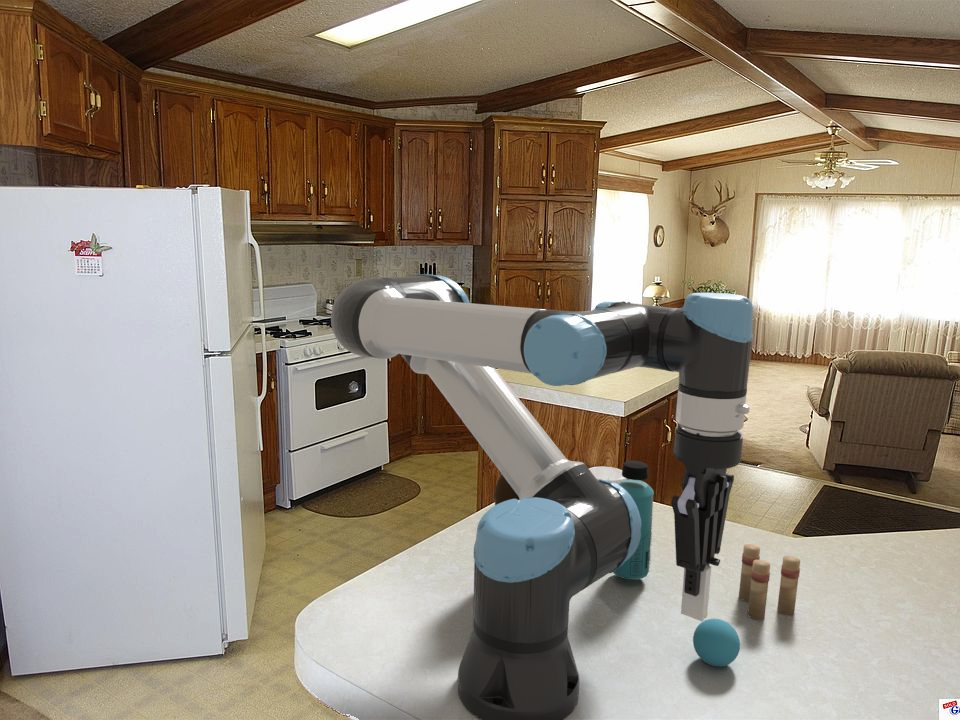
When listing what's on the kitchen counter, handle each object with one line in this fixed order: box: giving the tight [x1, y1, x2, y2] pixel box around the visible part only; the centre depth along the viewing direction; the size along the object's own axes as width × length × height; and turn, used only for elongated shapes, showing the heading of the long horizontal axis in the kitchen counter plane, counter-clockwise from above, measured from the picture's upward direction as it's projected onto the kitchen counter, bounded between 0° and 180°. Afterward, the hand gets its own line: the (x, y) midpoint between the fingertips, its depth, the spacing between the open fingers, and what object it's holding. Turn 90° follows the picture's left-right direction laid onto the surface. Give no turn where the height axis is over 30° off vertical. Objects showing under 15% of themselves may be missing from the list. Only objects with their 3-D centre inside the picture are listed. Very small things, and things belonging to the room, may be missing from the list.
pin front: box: [747, 559, 771, 621], centre depth 110 cm, size 3×3×8 cm
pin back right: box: [777, 555, 801, 616], centre depth 112 cm, size 3×2×8 cm
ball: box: [692, 618, 741, 667], centre depth 98 cm, size 6×6×6 cm
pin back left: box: [738, 543, 761, 602], centre depth 115 cm, size 3×3×8 cm
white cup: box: [588, 466, 628, 484], centre depth 143 cm, size 8×8×10 cm
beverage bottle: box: [612, 460, 655, 580], centre depth 119 cm, size 6×7×20 cm
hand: (693, 614), depth 89 cm, fingers closed
